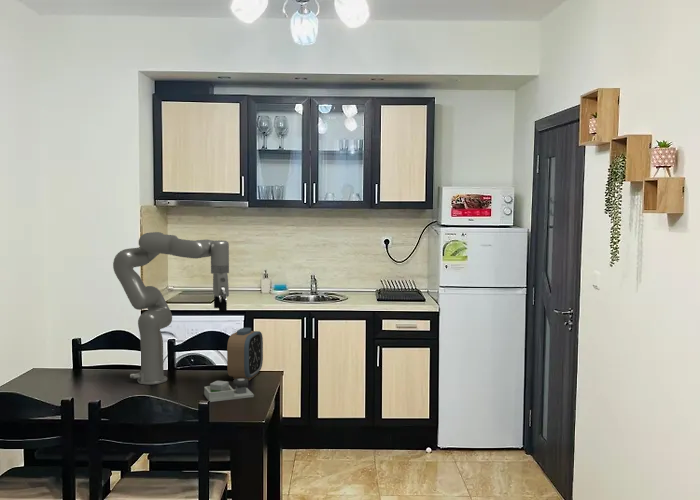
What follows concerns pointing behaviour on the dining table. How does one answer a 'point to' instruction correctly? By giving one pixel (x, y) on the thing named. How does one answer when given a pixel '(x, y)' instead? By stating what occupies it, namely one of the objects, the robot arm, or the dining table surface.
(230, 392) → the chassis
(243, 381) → the wheel
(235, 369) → the alarm clock
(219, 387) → the small box
